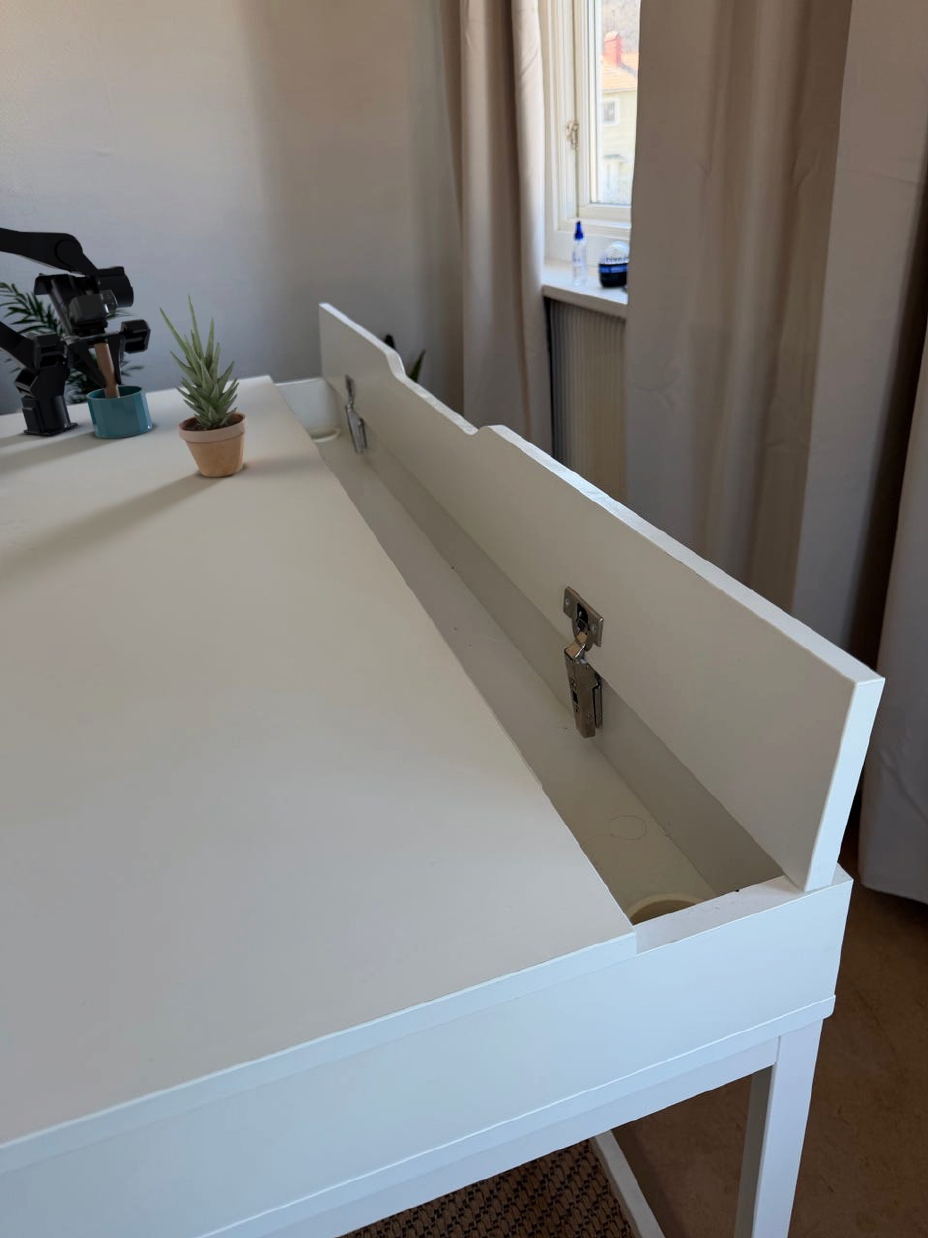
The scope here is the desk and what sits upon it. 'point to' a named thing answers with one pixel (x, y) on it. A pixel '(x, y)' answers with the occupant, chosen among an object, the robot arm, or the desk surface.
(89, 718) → the desk surface
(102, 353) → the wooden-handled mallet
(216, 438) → the potted plant
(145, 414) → the teal paint pail
